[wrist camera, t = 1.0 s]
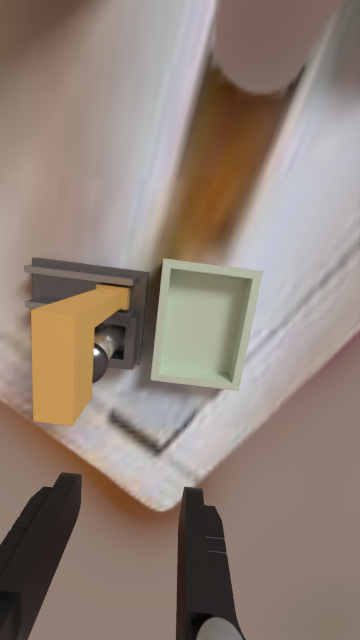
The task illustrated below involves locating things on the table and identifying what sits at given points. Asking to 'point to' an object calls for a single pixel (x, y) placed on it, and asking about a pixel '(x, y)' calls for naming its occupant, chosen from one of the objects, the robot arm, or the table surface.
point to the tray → (203, 323)
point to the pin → (105, 348)
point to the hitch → (77, 278)
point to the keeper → (69, 351)
